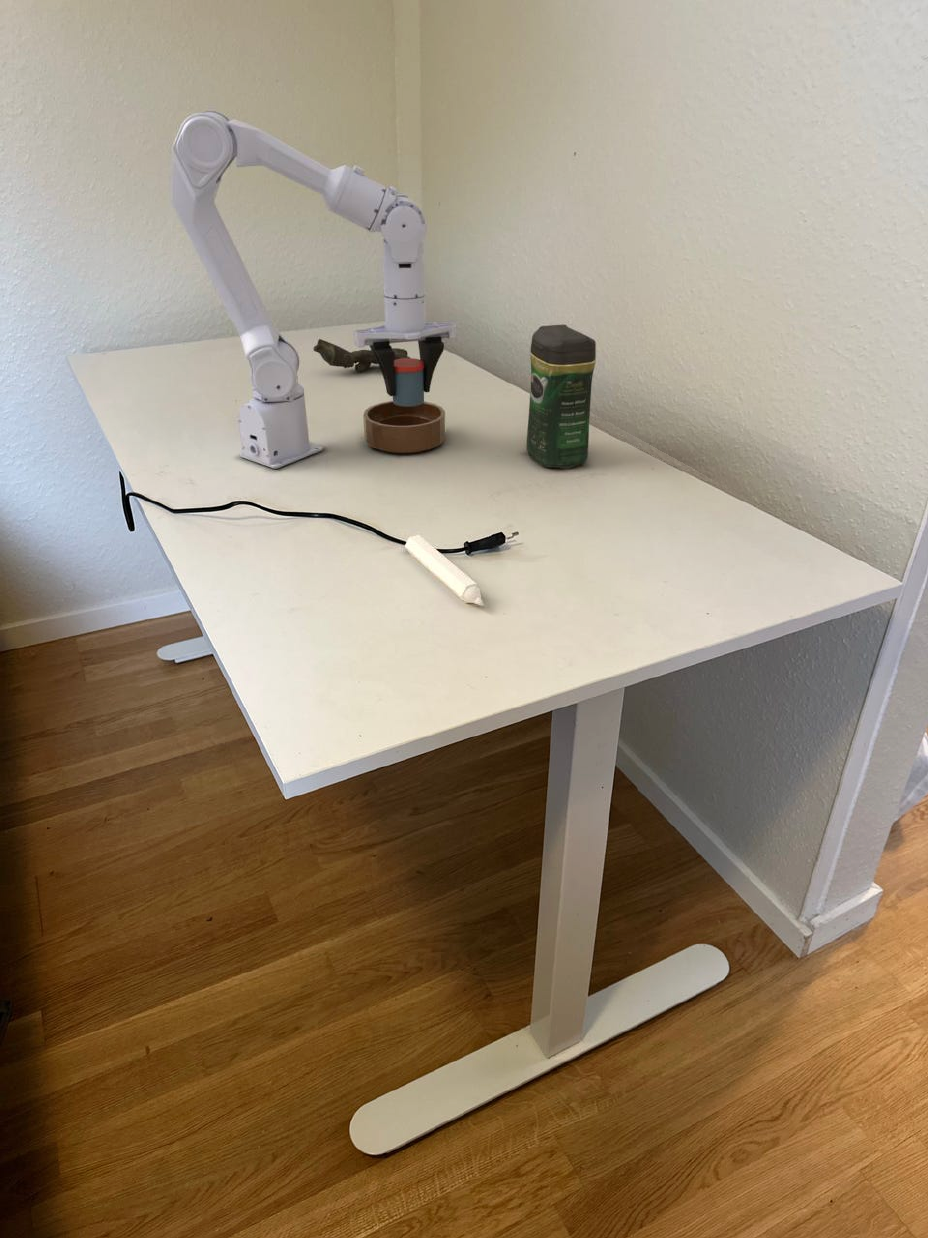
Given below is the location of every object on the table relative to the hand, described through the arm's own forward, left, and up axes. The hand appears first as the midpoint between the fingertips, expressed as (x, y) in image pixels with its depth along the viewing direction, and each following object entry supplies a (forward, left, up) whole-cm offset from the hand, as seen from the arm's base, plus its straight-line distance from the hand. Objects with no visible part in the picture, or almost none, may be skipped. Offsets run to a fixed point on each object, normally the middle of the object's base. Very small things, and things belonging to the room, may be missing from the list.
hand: (407, 392), depth 125 cm
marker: (-28, -30, -9) cm, 42 cm away
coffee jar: (+10, -20, -9) cm, 24 cm away
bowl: (+1, +2, -8) cm, 9 cm away
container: (0, 0, -1) cm, 1 cm away
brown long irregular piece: (+25, +32, -9) cm, 42 cm away
